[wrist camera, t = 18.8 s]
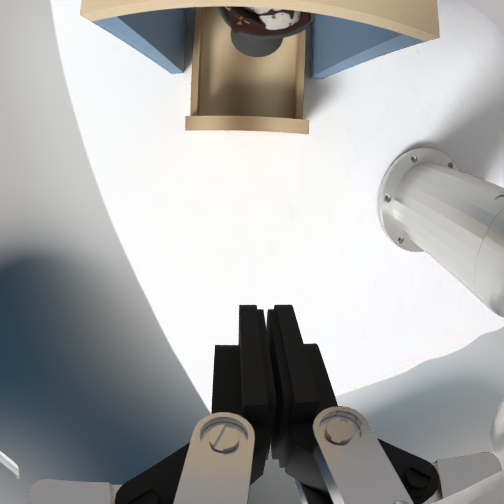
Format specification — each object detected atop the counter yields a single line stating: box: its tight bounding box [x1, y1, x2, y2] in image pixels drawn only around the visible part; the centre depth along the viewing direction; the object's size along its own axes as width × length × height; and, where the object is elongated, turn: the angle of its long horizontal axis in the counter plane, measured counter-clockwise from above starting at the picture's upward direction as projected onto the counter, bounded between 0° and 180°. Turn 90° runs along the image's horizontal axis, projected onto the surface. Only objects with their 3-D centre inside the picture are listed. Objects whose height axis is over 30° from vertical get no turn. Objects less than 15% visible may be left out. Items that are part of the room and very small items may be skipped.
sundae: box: [217, 6, 316, 57], centre depth 17 cm, size 7×7×15 cm
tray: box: [185, 6, 309, 134], centre depth 23 cm, size 10×14×5 cm
